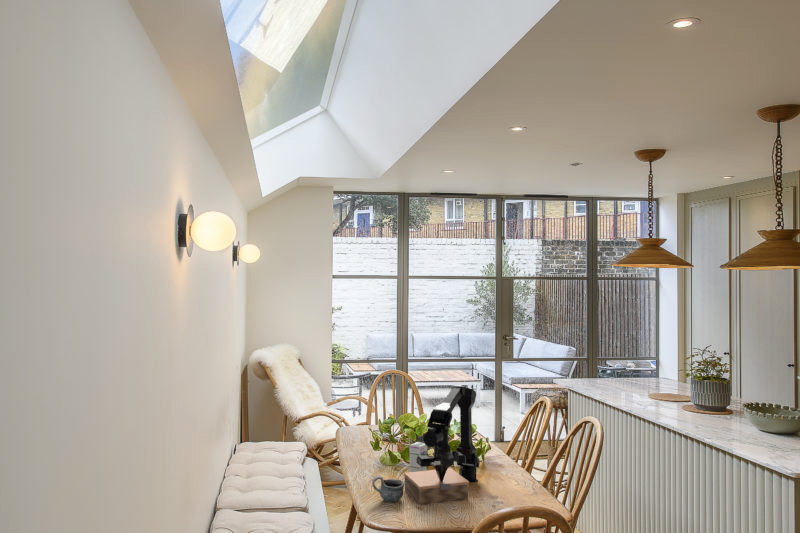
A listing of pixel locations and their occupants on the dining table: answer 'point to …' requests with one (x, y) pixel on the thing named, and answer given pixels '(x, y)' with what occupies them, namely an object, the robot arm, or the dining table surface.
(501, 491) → the dining table surface
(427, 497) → the crate
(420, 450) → the syrup box
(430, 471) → the lid
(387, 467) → the dining table surface
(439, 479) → the robot arm
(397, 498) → the mug
